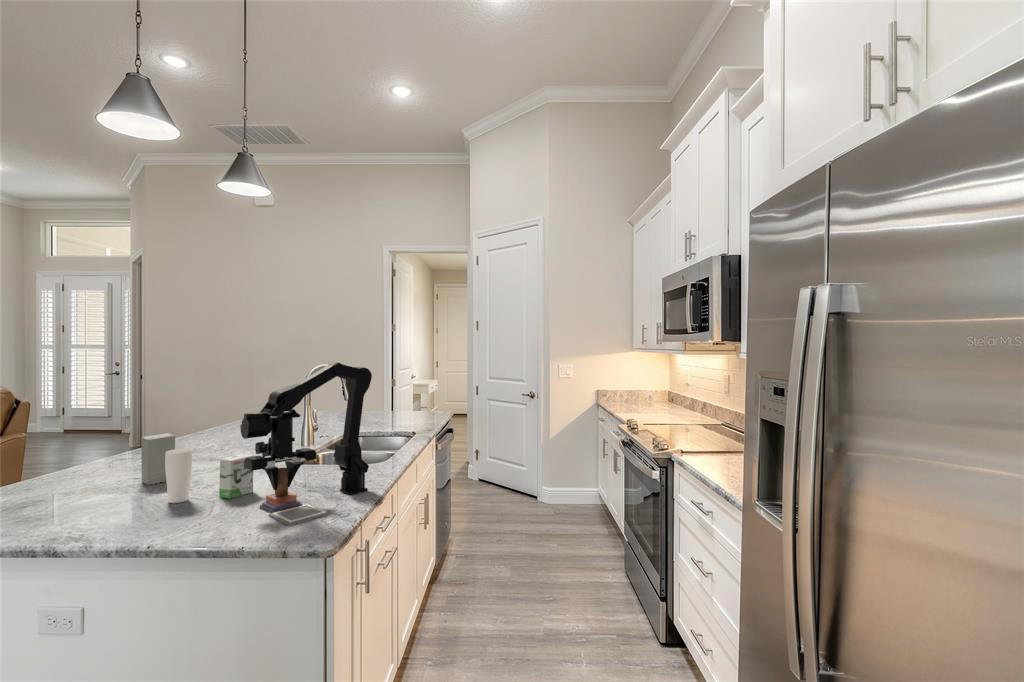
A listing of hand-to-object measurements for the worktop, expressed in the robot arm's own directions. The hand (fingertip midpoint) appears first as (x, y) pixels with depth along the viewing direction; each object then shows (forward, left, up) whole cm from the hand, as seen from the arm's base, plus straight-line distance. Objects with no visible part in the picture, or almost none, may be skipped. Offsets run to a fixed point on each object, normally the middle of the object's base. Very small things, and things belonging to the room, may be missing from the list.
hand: (281, 488), depth 145 cm
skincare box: (+14, -59, -6) cm, 61 cm away
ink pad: (0, 0, -5) cm, 5 cm away
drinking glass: (+17, -29, -6) cm, 34 cm away
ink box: (+3, -23, -6) cm, 24 cm away
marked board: (0, +11, -5) cm, 12 cm away
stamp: (0, 0, -4) cm, 4 cm away
